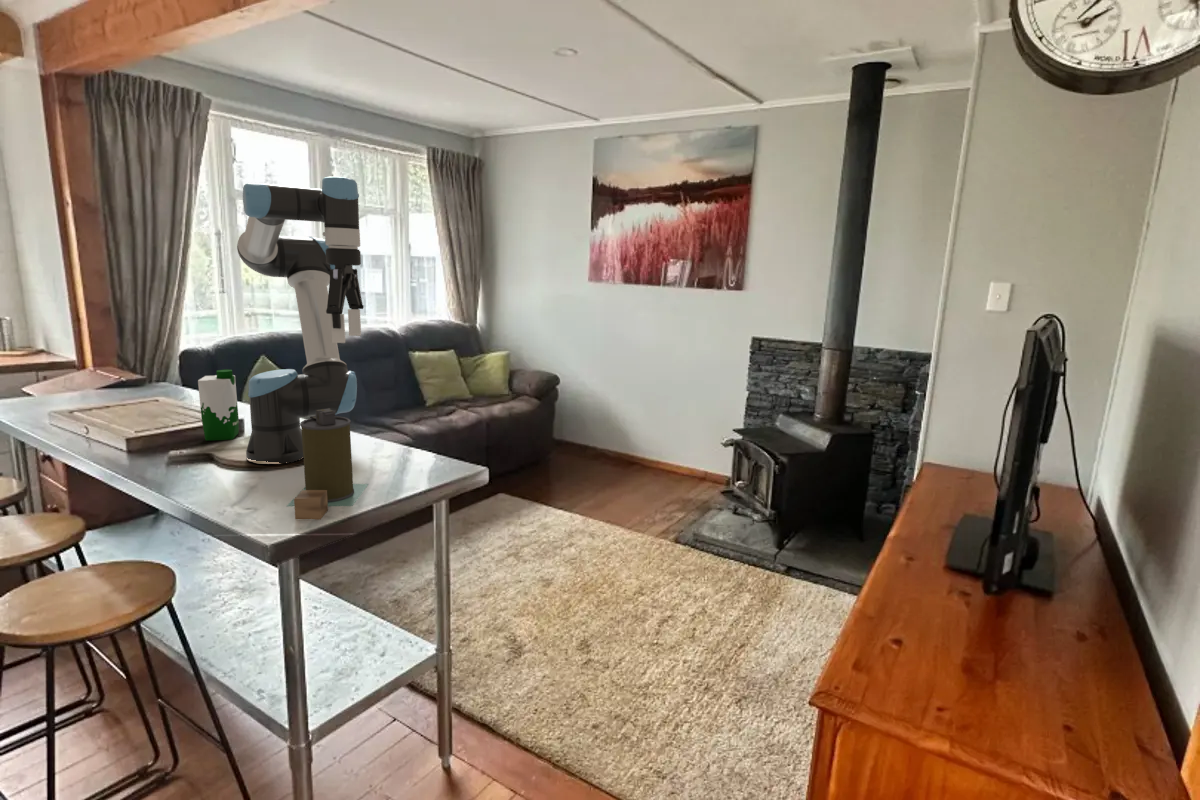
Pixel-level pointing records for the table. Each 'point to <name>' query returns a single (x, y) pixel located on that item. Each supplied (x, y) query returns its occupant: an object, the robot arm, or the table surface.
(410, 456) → the table surface
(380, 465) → the table surface
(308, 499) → the block
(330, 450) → the canister
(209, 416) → the milk carton
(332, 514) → the table surface
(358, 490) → the letter card
